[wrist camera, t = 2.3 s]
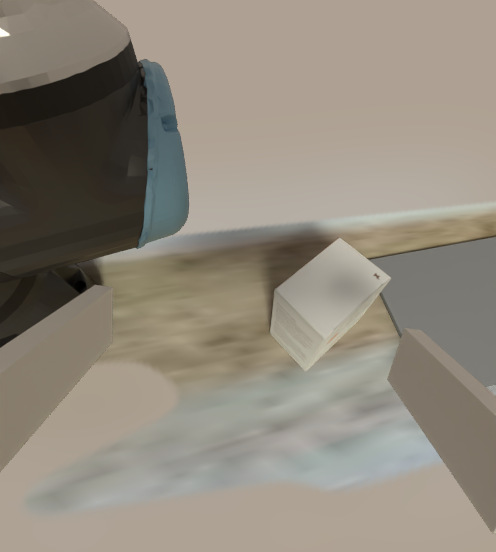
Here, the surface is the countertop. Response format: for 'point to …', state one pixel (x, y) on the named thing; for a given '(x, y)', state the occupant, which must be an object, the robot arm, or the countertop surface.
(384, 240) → the countertop surface
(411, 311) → the slate mat
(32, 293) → the robot arm
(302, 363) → the small box
